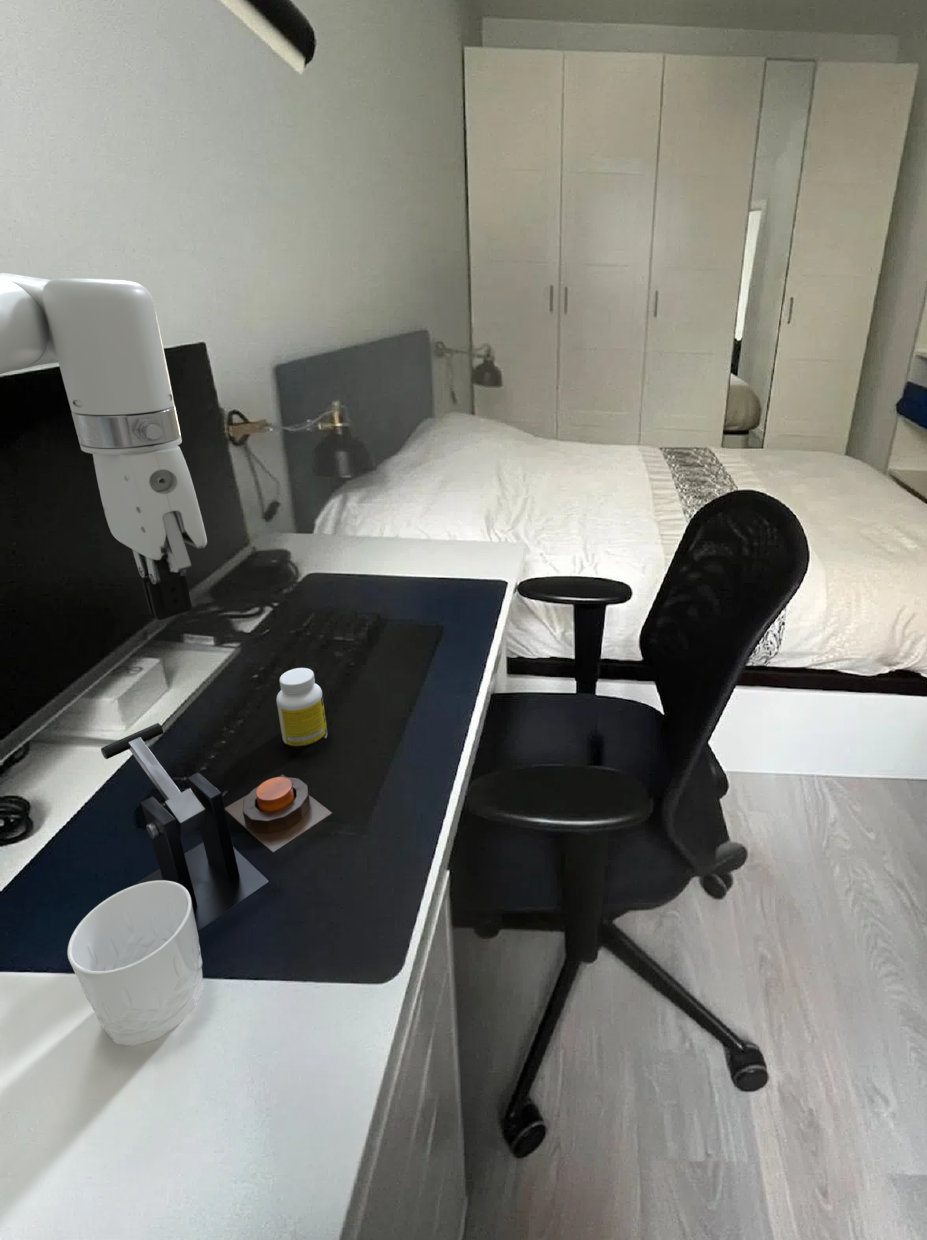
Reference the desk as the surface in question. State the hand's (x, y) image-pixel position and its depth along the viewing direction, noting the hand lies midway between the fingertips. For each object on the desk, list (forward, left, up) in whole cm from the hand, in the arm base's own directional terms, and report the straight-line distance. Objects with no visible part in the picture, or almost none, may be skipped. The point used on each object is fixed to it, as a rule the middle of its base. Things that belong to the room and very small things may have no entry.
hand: (171, 612), depth 64 cm
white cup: (+18, -14, -25) cm, 34 cm away
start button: (+7, +4, -23) cm, 24 cm away
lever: (+5, -6, -15) cm, 17 cm away
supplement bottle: (-3, +13, -25) cm, 29 cm away
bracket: (+10, -6, -25) cm, 28 cm away
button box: (+7, +4, -25) cm, 26 cm away
